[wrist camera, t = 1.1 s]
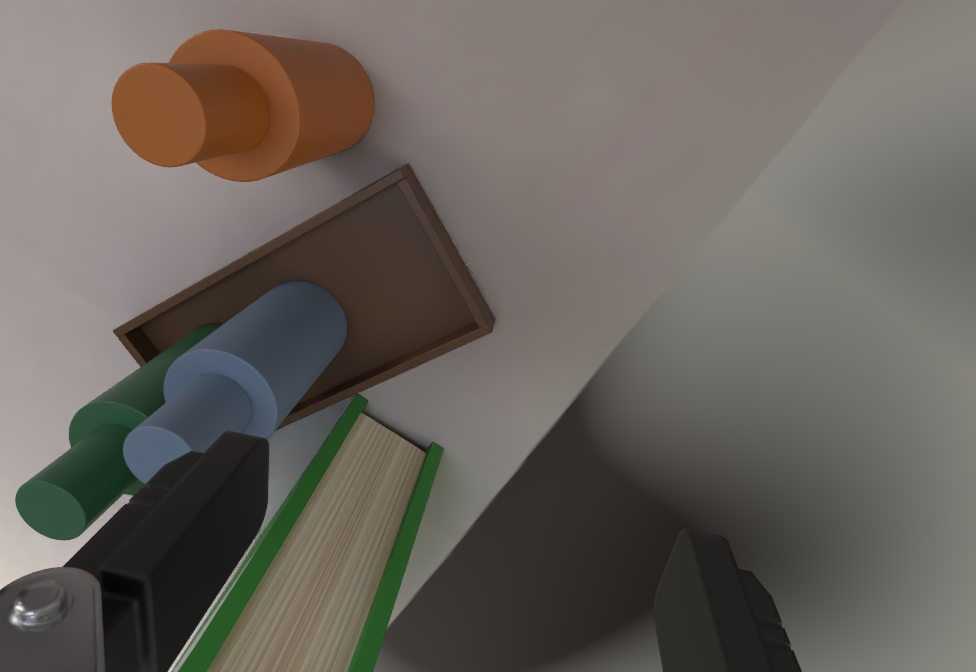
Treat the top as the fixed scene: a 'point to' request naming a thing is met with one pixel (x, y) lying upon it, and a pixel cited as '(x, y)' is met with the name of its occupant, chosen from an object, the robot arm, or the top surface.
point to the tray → (345, 290)
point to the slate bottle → (241, 375)
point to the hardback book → (324, 560)
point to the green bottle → (99, 451)
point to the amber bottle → (244, 104)
